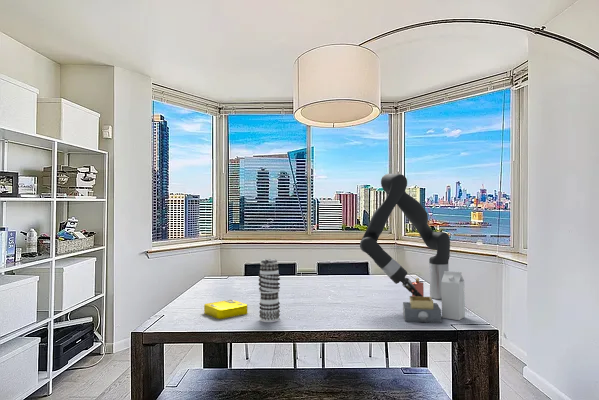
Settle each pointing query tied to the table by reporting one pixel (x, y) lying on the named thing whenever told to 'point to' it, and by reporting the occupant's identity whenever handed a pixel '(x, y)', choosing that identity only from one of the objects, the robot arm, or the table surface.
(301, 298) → the table surface
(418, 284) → the red bottle
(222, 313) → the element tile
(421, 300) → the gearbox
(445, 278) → the milk carton
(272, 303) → the decorative candle
